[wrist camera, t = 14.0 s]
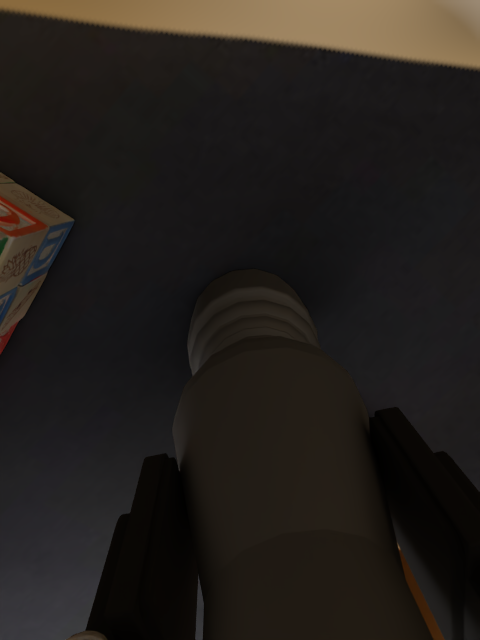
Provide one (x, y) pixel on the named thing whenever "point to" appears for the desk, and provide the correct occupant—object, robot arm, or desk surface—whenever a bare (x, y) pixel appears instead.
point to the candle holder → (283, 478)
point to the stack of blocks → (25, 250)
